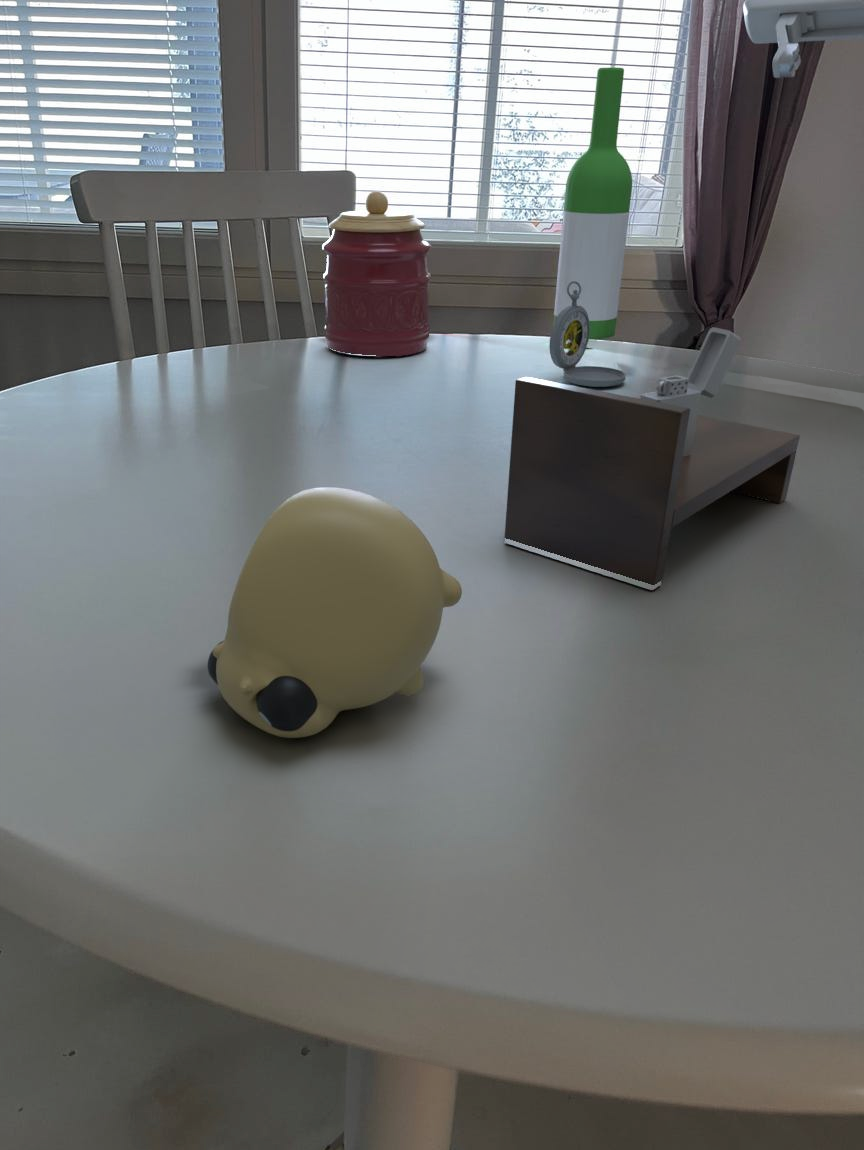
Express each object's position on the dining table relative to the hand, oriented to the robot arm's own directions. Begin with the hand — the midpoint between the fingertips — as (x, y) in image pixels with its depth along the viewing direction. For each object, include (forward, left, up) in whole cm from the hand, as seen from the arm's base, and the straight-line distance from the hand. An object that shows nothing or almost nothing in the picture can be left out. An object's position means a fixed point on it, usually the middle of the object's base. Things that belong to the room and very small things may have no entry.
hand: (842, 69), depth 72 cm
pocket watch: (+23, -5, -29) cm, 37 cm away
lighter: (-3, +27, -24) cm, 36 cm away
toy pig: (-2, +59, -29) cm, 66 cm away
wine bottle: (+33, -21, -29) cm, 48 cm away
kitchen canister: (+51, -2, -29) cm, 58 cm away
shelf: (-2, +27, -28) cm, 39 cm away
